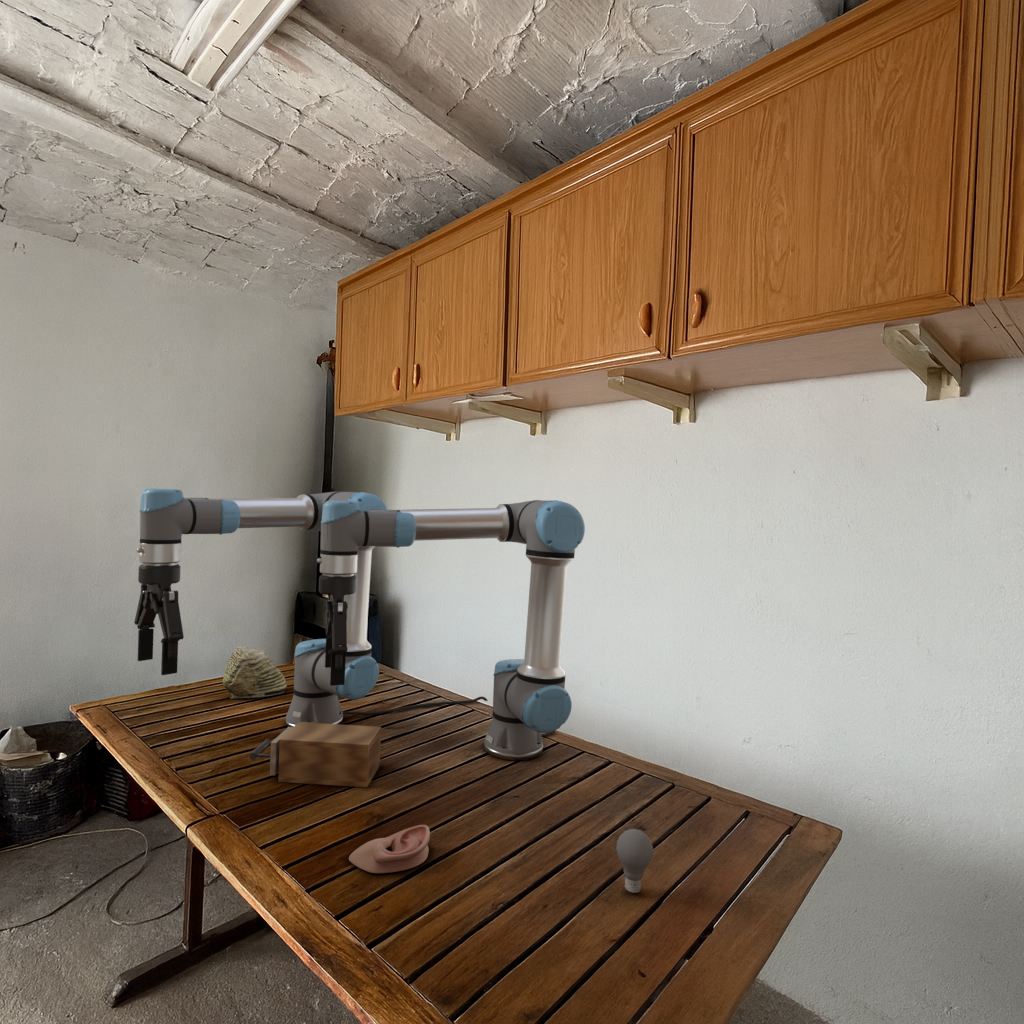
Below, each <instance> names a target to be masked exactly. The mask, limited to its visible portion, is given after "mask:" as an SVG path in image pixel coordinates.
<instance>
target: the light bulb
mask: <svg viewBox="0 0 1024 1024" xmlns="http://www.w3.org/2000/svg"><path fill="white" fill-rule="evenodd" d="M615 849H616V854H617V857H618V859H619V861H620V863H621V865H622V867H623V873H624V874H623V875H624V876H625V878H624V888H625V890H627V891H628V892H630V893H634V894H635V893H639V892H640V891H641V889H642V887H641V886H642V879H643V877H644V875H645V871H646V868H647V867H648V866H649V864H650V863H651V861H652V859H653V855H654V847H653V843H652V841H651V838H649V836H648V835H647V834H646V833H645V832H643V831H642V830H641V829H636V828H629V829H627V830H625V831H623V832H622V833H621V834H620V835H619V837H618V839H617V841H616V847H615Z"/></svg>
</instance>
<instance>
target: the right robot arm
mask: <svg viewBox="0 0 1024 1024" xmlns="http://www.w3.org/2000/svg"><path fill="white" fill-rule="evenodd" d="M585 526H586V525H585V521H584V517H583V515H582V514H581V512H580V511H579V510H578V508H576V507H575V506H574V505H573V504H571V503H568V502H565V501H563V500H554V499H553V500H550V499H549V500H543V499H542V500H541V499H538V500H537V499H534V500H526V501H522V502H513V503H500V504H498V505H497V506H496V507H495V508H494V507H479V508H476V507H475V508H474V507H473V508H421V509H420V508H419V509H418V508H416V509H415V508H414V509H413V508H412V509H410V508H409V509H387V510H379V509H371V510H369V511H360V508H359V503H358V502H353V501H326V502H325V503H324V504H323V510H322V521H321V531H320V548H319V549H320V551H319V553H320V557H318V558H317V559H316V562H317V564H319V573H321V574H320V575H319V577H318V592H319V593H320V594H322V595H326V596H327V601H326V604H325V606H326V607H325V608H326V621H325V622H326V623H325V628H324V631H325V636H326V637H325V639H326V652H325V668H329V667H331V675H330V686H335V685H344V683H345V658H346V652H347V608H348V604H347V602H346V601H344V596H345V595H351V594H354V593H355V592H356V576H355V575H354V574H355V573H356V572H357V559H358V554H357V549H358V546H376V547H382V548H383V547H385V548H397V549H399V548H405V547H408V548H409V547H411V546H412V545H413V544H414V542H415V541H418V542H419V541H442V540H443V541H449V540H480V539H483V540H485V539H486V540H487V539H496V540H497V541H499V542H500V543H518V544H523V545H525V556H526V558H527V559H528V561H530V563H531V564H530V575H529V590H528V591H529V592H528V602H527V603H528V605H527V606H528V607H527V615H526V631H525V632H526V633H525V645H524V658H512V659H511V658H509V659H503V660H499V661H497V662H496V663H495V665H494V670H493V692H492V695H493V696H492V699H493V700H492V716H491V717H492V718H491V721H490V724H489V727H488V729H487V731H486V734H485V737H484V741H483V749H484V751H485V752H486V753H487V754H488V755H490V756H492V757H494V758H496V759H500V760H505V761H527V760H531V759H535V758H537V757H540V756H541V755H542V753H543V752H544V740H543V737H548V736H551V735H552V734H555V733H556V731H557V730H559V729H560V728H561V727H562V726H563V725H564V724H565V723H566V722H567V721H568V719H569V717H570V716H571V712H572V707H573V703H572V698H571V696H570V694H569V692H568V690H566V689H565V687H566V671H565V670H564V669H563V667H562V666H561V655H562V642H563V641H562V639H563V626H564V615H565V614H564V613H565V601H566V586H567V574H568V566H569V564H571V563H572V562H573V561H574V560H575V553H576V549H577V548H578V547H579V545H580V544H582V542H583V540H584V538H585V532H586V527H585Z"/></svg>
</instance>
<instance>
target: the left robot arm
mask: <svg viewBox="0 0 1024 1024" xmlns="http://www.w3.org/2000/svg"><path fill="white" fill-rule="evenodd" d="M326 501H353V502H358V503H359V508H360V511H369V510H371V509H379V510H388V508H387V506H386V503H385V502H384V501H383V500H382V499H381V498H380V497H379V496H377V495H376V494H373V493H371V492H364V491H327V492H322V493H308V494H306V493H305V494H304V493H303V494H299V495H298V496H296V497H184V493H183V490H182V489H176V488H153V487H149V488H145V489H144V490H143V491H142V492H141V498H140V503H139V504H140V506H139V507H140V508H139V547H138V548H136V553H138V560H139V561H138V562H140V563H141V564H140V565H139V566H138V573H137V574H138V575H137V576H138V579H137V581H138V583H139V584H140V594H139V599H138V604H137V608H136V612H135V617H134V625H135V626H136V628H137V629H138V632H137V634H138V635H137V662H143V661H150V660H151V661H152V660H153V659H154V630H155V629H154V628H156V625H155V620H156V616H158V619H159V620H158V621H159V624H160V628H161V631H162V636H163V638H161V640H160V643H161V663H160V664H161V668H160V670H161V671H160V675H161V676H167V675H168V676H169V675H174V674H178V661H179V660H178V659H179V657H178V656H179V641H181V640H184V635H185V634H184V629H183V623H182V617H181V609H180V603H179V590H172V585H173V584H178V583H179V582H180V581H181V565H180V564H179V563H180V562H181V561H182V537H183V535H220V536H221V535H224V534H232V533H235V532H236V531H237V530H238V529H261V528H263V529H265V528H295V527H297V528H298V529H299V530H301V531H318V532H321V521H322V510H323V504H324V503H325V502H326ZM376 547H377V546H358V549H357V554H358V559H357V572H356V573H355V574H354V575H355V576H356V592H355V593H354V594H351V595H345V596H344V601H346V602H347V604H348V608H347V652H346V658H345V683H344V685H335V686H330V675H331V667H329V668H325V652H326V638H317V639H308V640H304V641H300V642H299V643H297V645H296V646H295V650H294V655H293V657H294V672H293V673H294V674H293V695H292V696H293V697H292V699H291V702H290V704H289V708H288V711H287V713H286V715H285V726H286V728H288V727H294V726H295V725H296V724H297V723H298V722H306V723H323V724H340V725H342V723H343V722H344V715H345V716H347V715H354V716H355V715H356V716H357V715H358V716H374V715H375V716H376V715H381V714H382V715H383V714H389V713H394V712H401V711H406V710H411V709H412V710H413V709H418V708H425V707H433V706H444V705H445V706H446V705H460V704H462V705H463V704H472V703H475V702H478V701H480V700H483V701H484V702H488V700H489V699H487V698H486V697H485V696H478V697H476V698H473V699H467V700H452V701H437V702H429V703H419V704H413V705H408V706H407V705H406V706H402V707H396V708H389V709H383V710H378V711H377V710H376V711H343V709H342V706H341V702H340V699H339V698H341V699H347V700H351V701H357V700H360V699H363V698H364V697H366V696H367V695H368V694H370V692H371V690H373V689H374V688H375V686H376V684H377V682H378V679H379V676H380V667H379V664H378V662H377V661H376V659H375V658H374V657H373V656H372V644H371V643H370V642H369V641H368V639H367V634H368V617H369V602H370V587H371V571H372V570H371V569H372V555H373V550H374V549H375V548H376Z"/></svg>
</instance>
